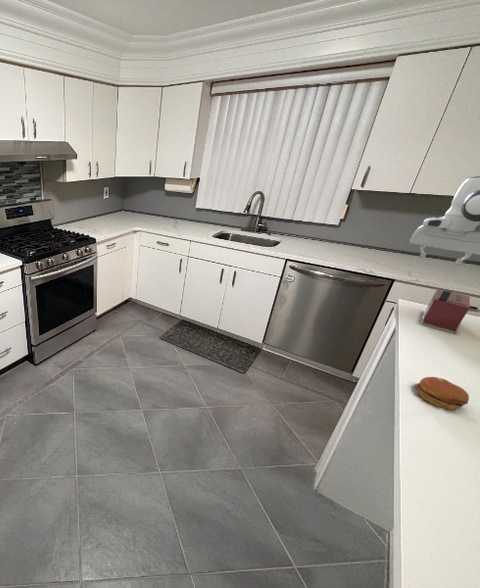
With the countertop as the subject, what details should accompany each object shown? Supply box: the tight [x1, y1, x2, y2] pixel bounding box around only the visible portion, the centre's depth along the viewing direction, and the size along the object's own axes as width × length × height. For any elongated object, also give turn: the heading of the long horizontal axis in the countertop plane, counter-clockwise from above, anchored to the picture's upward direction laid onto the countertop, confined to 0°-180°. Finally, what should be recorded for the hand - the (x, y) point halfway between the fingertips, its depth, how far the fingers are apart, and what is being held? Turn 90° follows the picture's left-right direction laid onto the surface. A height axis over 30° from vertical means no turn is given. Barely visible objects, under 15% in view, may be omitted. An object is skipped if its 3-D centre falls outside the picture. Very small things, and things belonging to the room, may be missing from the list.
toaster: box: [420, 288, 471, 334], centre depth 122 cm, size 15×9×11 cm, turn 131°
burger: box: [415, 376, 470, 411], centre depth 84 cm, size 10×9×5 cm
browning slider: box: [439, 289, 452, 300], centre depth 117 cm, size 2×2×3 cm
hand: (439, 260), depth 116 cm, fingers open, 8 cm apart
